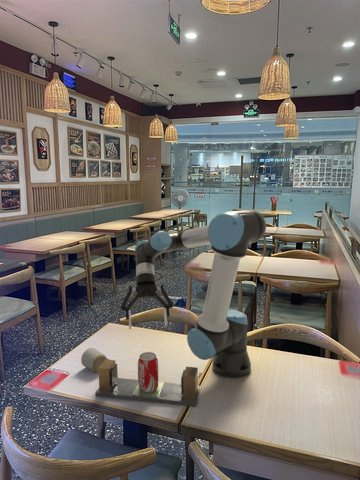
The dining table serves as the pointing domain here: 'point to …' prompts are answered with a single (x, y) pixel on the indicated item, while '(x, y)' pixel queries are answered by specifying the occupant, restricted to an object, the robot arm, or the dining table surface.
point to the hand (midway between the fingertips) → (148, 326)
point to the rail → (163, 394)
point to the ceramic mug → (93, 359)
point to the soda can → (148, 372)
